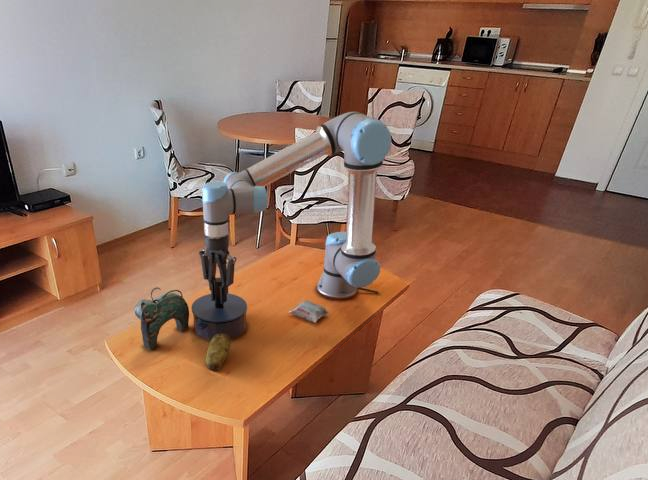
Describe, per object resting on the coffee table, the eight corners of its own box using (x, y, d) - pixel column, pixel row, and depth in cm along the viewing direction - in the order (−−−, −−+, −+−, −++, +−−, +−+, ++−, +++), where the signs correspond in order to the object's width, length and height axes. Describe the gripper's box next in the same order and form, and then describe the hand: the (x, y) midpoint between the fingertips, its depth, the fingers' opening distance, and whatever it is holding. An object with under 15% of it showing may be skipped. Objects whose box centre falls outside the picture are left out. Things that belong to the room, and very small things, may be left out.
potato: (195, 367, 156) (193, 346, 151) (218, 347, 165) (218, 327, 160) (216, 376, 152) (215, 354, 148) (239, 355, 161) (239, 334, 156)
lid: (257, 305, 173) (258, 275, 166) (226, 330, 160) (225, 299, 153) (213, 290, 181) (212, 262, 175) (180, 313, 169) (177, 283, 162)
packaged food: (315, 328, 174) (316, 315, 171) (287, 316, 180) (288, 304, 177) (328, 318, 179) (330, 306, 176) (301, 307, 185) (302, 295, 182)
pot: (259, 319, 179) (260, 302, 175) (222, 351, 163) (221, 333, 159) (218, 305, 187) (218, 289, 183) (179, 334, 171) (177, 317, 167)
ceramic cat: (148, 354, 162) (140, 300, 150) (136, 346, 166) (127, 293, 154) (193, 329, 174) (189, 277, 162) (181, 322, 177) (176, 271, 166)
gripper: (244, 235, 154) (245, 302, 168) (203, 225, 161) (206, 290, 175) (231, 244, 149) (232, 312, 163) (188, 233, 156) (193, 299, 170)
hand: (219, 300), depth 169 cm, fingers closed on lid, 3 cm apart
